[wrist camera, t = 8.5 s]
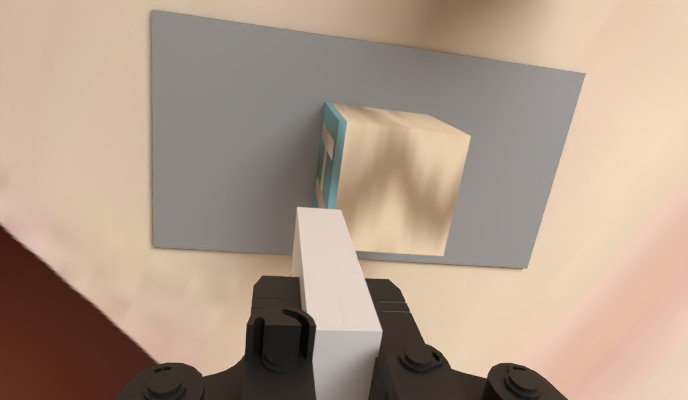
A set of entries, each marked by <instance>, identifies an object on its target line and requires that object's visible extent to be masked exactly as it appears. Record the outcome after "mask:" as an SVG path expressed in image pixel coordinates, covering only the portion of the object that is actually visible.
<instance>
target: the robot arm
mask: <svg viewBox="0 0 688 400" xmlns="http://www.w3.org/2000/svg"><path fill="white" fill-rule="evenodd" d="M115 400H568V399H567V398H566V397H564V396H563V395H562V394H561V393H560V392H559V391H558V390H557V389H556V388H555V387H554V386H553V385H552V384H551V383H550V382H548V381H547V380H546V379H545V378H544V377H542V376H541V375H540V374H538V373H537V372H535V371H533V370H531V369H529V368H527V367H525V366H521V365H517V364H513V363H500V364H497V365H495V366H493V367H492V368H491V370H490V372H489V373H488V377H487V379H486V378H482V377H478V376H474V375H470V374H466V373H462V372H459V371H456V370H453V369H451V367H450V365H449V363H448V361H447V360H446V358H445V357H444V356H443V354H442V353H441V352H439V351H438V350H436V349H435V348H434V347H432V346H430V345H427V344H425V342H424V340H423V338H422V336H421V334H420V331H419V329H418V327H417V325H416V323H415V321H414V319H413V316H412V314H411V313H410V310H409V308H408V306H407V303H405V299H404V297H403V295H402V293H401V290H400V289H399V288H398V287H397V286H395V285H394V284H393V283H392V282H391V281H390V280H389V279H367V278H364V275H363V272H362V270H361V267H360V264H359V261H358V258H357V255H356V252H355V249H354V246H353V243H352V240H351V237H350V234H349V231H348V228H347V225H346V223H345V220H344V217H343V214H342V211H341V210H336V209H321V208H306V207H297V213H296V224H295V235H294V245H293V256H292V267H291V277H282V276H262V277H261V278H260V279H259V280H258V282H257V283H256V284H255V285H254V289H253V298H252V307H251V317H250V319H249V321H248V323H247V330H246V348H245V355H244V356H243V358H242V359H241V360H240V361H239V362H238V363H237V364H236V365H235V366H233V367H231V368H229V369H227V370H226V371H223V372H220V373H217V374H213V375H209V376H205V377H202V374H201V373H200V372H199V371H197V370H196V369H195V368H194V367H192V366H189V365H186V364H183V363H164V364H159V365H155V366H152V367H150V368H148V369H146V370H144V371H141V372H139V373H138V374H137V375H136V376H135V377H134V378H133V379H132V380H130V381H129V382H128V384H127V385H126V386H125V388H124V389H123V390H122V391H121V393H120V394H119V395H118V396H117V398H116V399H115Z"/></svg>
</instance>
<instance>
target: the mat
mask: <svg viewBox="0 0 688 400" xmlns="http://www.w3.org/2000/svg"><path fill="white" fill-rule="evenodd" d="M585 74H586V73H579V72H572V71H565V70H559V69H552V68H545V67H538V66H531V65H525V64H518V63H511V62H504V61H497V60H491V59H484V58H477V57H470V56H463V55H457V54H450V53H443V52H436V51H429V50H423V49H416V48H409V47H402V46H395V45H389V44H382V43H375V42H368V41H361V40H355V39H348V38H341V37H334V36H327V35H321V34H314V33H307V32H300V31H293V30H287V29H280V28H273V27H266V26H259V25H253V24H246V23H239V22H232V21H226V20H219V19H212V18H205V17H198V16H192V15H185V14H178V13H171V12H164V11H158V10H152V150H153V247H160V248H177V249H195V250H212V251H229V252H247V253H264V254H282V255H293V245H294V235H295V224H296V213H297V207H306V208H314V207H313V199H314V191H315V183H316V174H317V166H318V158H319V149H320V141H321V133H322V124H323V116H324V107H325V102H328V103H336V104H344V105H352V106H361V107H369V108H377V109H385V110H394V111H402V112H410V113H418V114H427V115H430V116H432V117H434V118H436V119H438V120H440V121H442V122H444V123H446V124H448V125H450V126H452V127H454V128H456V129H458V130H460V131H462V132H464V133H466V134H468V135H471V139H470V143H469V147H468V152H467V156H466V160H465V165H464V169H463V173H462V178H461V182H460V186H459V191H458V195H457V199H456V204H455V208H454V212H453V217H452V221H451V225H450V230H449V234H448V238H447V243H446V247H445V251H444V256H433V255H417V254H400V253H384V252H368V251H355V252H356V255H357V258H358V259H369V260H386V261H404V262H421V263H439V264H456V265H473V266H491V267H508V268H526V269H527V267H528V264H529V260H530V257H531V254H532V250H533V247H534V244H535V240H536V237H537V234H538V230H539V227H540V224H541V220H542V217H543V214H544V210H545V207H546V204H547V200H548V197H549V194H550V190H551V187H552V184H553V180H554V177H555V174H556V170H557V167H558V164H559V160H560V157H561V154H562V150H563V147H564V144H565V140H566V137H567V134H568V130H569V127H570V124H571V120H572V117H573V114H574V110H575V107H576V104H577V101H578V97H579V94H580V91H581V87H582V84H583V81H584V77H585Z"/></svg>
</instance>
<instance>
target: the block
mask: <svg viewBox="0 0 688 400" xmlns="http://www.w3.org/2000/svg"><path fill="white" fill-rule="evenodd" d="M470 139H471V135H468V134H466V133H464V132H462V131H460V130H458V129H456V128H454V127H452V126H450V125H448V124H446V123H444V122H442V121H440V120H438V119H436V118H434V117H432V116H430V115H427V114H418V113H410V112H402V111H394V110H385V109H377V108H369V107H361V106H352V105H344V104H336V103H328V102H325V107H324V116H323V124H322V133H321V141H320V149H319V158H318V166H317V174H316V183H315V191H314V199H313V207H314V208H321V209H336V210H341V211H342V214H343V217H344V220H345V223H346V225H347V228H348V231H349V234H350V237H351V240H352V243H353V246H354V249H355V251H368V252H384V253H400V254H417V255H433V256H444V251H445V247H446V243H447V238H448V234H449V230H450V225H451V221H452V217H453V212H454V208H455V204H456V199H457V195H458V191H459V186H460V182H461V178H462V173H463V169H464V165H465V160H466V156H467V152H468V147H469V143H470Z"/></svg>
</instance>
